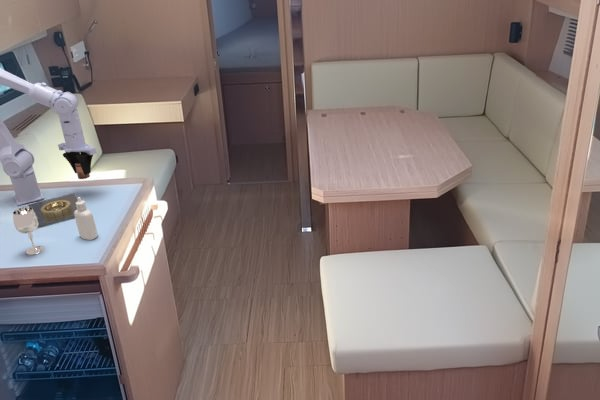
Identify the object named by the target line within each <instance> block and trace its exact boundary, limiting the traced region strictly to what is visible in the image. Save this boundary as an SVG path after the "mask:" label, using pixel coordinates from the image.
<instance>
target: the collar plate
mask: <svg viewBox="0 0 600 400" xmlns="http://www.w3.org/2000/svg"><path fill="white" fill-rule="evenodd" d="M76 202H78V197H77V195H76V194H75V193H74V192H73V193H68V194H66V195H61V196H57V197H53V198H49V199H46V200H40V201H36V202H34V203H33V202H32V203H28V205H27V207H31V208H32V209H33V210H34V212H35V214H36V215H37V218H38V222H39V225H38V227H37V229H39V228H40V229H41V228H44V227H47V226H50V225H54V224H58V223H61V222H65V221H70V220H73V219H75V216H74V212H75V211H76V210H77V207H76Z"/></svg>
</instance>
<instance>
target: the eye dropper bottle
mask: <svg viewBox="0 0 600 400" xmlns="http://www.w3.org/2000/svg"><path fill="white" fill-rule="evenodd" d="M77 199H78V202H76V207H77V210H76V211H75V212H74V216H75V218H74V219H75V223H76V227H77V230H78V234H79V236H80V238H81V239H83V240H87V241H88V240H89V241H90V240H91V241H92V240H95V239H96V238H97V237H98V236H99V234H98V231H97V226H96V222H95V219H94V215H93V212H92V211H91V210H90V209H89V208H87V205H86V201H85V200H83V199H82V198H81V197H80V196H78V197H77Z"/></svg>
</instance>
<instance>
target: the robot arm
mask: <svg viewBox="0 0 600 400" xmlns="http://www.w3.org/2000/svg"><path fill="white" fill-rule="evenodd" d="M0 85H2V86H4V87H6V88H7V87H8V88H9V89H12V90H15V91H18V92H22V93H24V94H26V95H28V97H29V98H30V101H34V102H36V103H38V104H41V105H43V106H46V107H48V108H49V109H52V110H53V111H54V113H55V114H57V116H58V118H59V123H60V126H61V130H62V134H63V135H62V136H63V139H64V142H61V143H58V144H57V147H58V150H59V151H64V153H62V157H64V158H65V160H66V161H67V162H68V163H69V165H70V166H71V168H72V170H73V172H74V173H75V174H77V171H76V167H75V162H78V161H79V163H80V165H81V167H82V170H83V173H84V175H87V174H91V171H92V161H93V156H94V155H95V154H97V150H96V147H94V146H92V145H89V144H87V143H86V141H85V136H84V132H83V131H84V130H83V128H82V123H81V119H80V116H79V112H78V109H77V108H78V106H79V99H78V97H77V96H76V95H75V94H74V93H72V92H70V91H66V92H63V90H61V89H59V90H58V89H55V88H53V87H51V86H49V85H47V83H45V82H44V81H42V82H36V83H32V82H29V81H27V80H25V79H24V78H21V77H19V76H17V75H14V74H13V73H11V72H9V71H7V70H5V69H3V68H1V67H0ZM9 130H10V129H8V127H7V126H6V124H5V123H4V121H3V120H2V118H1V117H0V163H1V165H2V171H3V172H4V173H5V175H7V176H9V179H10V183H11V185H12V188H13V191H14V199H15V202H16V205H17V206H21V205H25V204H31V203H33V202H34V203H35V202H39V201H43V199H45V198H44V196H43V193H42V190H41V188H40V187H39V183H38V181H37V180H38V179H37V176H36V172H35V169H34V167H33V165H34V163H35V156H34V154H33V153H32V152H31V151H30V150H28V149H27V148H26V147H25V145H24V144H22V143H20V142H18V141H16V139H15V138H14V136H13V135H12V134H11V132H10V131H9Z"/></svg>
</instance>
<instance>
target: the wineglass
mask: <svg viewBox="0 0 600 400" xmlns="http://www.w3.org/2000/svg"><path fill="white" fill-rule="evenodd" d="M12 220H13V225H14V228H15V229H16V231H17V232H19V233H20V234H28V239H29V240H30V241H31V246H32V247H30V248H28V249H27V250H26V251H25V253H26V255H30V256H31V255H38V254H40V253H41V252H43V251H44V250H45V248H44V246H42V245H35V243H34V239H33V237H34V236H33V232H36V230H37V229H38V228H37V227H38V225H39V222H38V218H37V215H36V214H35V212H34V210H33V209H32V208H31V207H29V206H22V207H20V208H17V209H15V210H14V211H13V212H12Z"/></svg>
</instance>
